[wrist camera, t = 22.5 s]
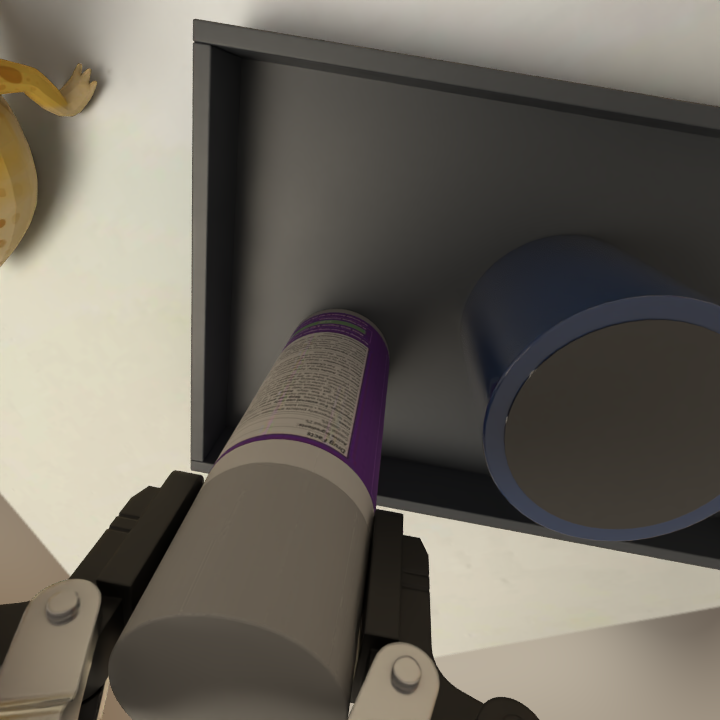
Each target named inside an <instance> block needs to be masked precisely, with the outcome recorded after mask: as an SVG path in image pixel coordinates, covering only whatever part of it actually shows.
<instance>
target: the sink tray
mask: <svg viewBox="0 0 720 720" xmlns="http://www.w3.org/2000/svg"><path fill="white" fill-rule="evenodd" d="M193 41H194V43H193V132H192V315H191V470H192V471H198V472H203V473H208V474H209V472H210V471H211V469H212V467H213V466H214V464H215V462H216V461H217V459H218V457H219V456H220V454H221V452H222V451H223V449H224V447H225V446H226V444H227V442H228V441H229V439H230V437H231V436H232V434H233V432H234V431H235V429H236V427H237V426H238V424H239V422H240V420H241V419H242V417H243V415H244V414H245V412H246V410H247V409H248V407H249V405H250V404H251V402H252V400H253V399H254V397H255V395H256V394H257V392H258V390H259V389H260V387H261V385H262V384H263V382H264V380H265V379H266V377H267V375H268V374H269V372H270V370H271V369H272V367H273V365H274V364H275V362H276V360H277V359H278V357H279V355H280V354H281V352H282V350H283V349H284V347H285V345H286V344H287V342H288V340H289V339H290V337H291V335H292V334H293V332H294V331H295V330H296V328H297V327H298V326H299V324H300V323H301V322H302V321H303V320H305V319H306V318H307V317H309V316H311V315H312V314H315V313H317V312H320V311H323V310H328V309H344V310H349V311H353V312H356V313H358V314H360V315H362V316H364V317H366V318H367V319H369V320H370V321H371V322H372V323H374V324H375V325H376V326H377V328H378V329H379V330H380V331H381V333H382V334H383V336H384V338H385V340H386V342H387V345H388V349H389V356H390V362H389V376H388V386H387V396H386V407H385V417H384V428H383V438H382V449H381V459H380V470H379V480H378V491H377V501H376V505H378V506H383V507H389V508H394V509H399V510H405V511H410V512H415V513H421V514H426V515H431V516H436V517H442V518H447V519H452V520H458V521H463V522H468V523H474V524H479V525H484V526H490V527H495V528H500V529H505V530H511V531H516V532H521V533H527V534H532V535H537V536H543V537H548V538H553V539H559V540H564V541H569V542H574V543H580V544H585V545H590V546H596V547H601V548H606V549H612V550H617V551H622V552H627V553H633V554H638V555H643V556H649V557H654V558H659V559H665V560H670V561H675V562H681V563H686V564H691V565H696V566H702V567H707V568H712V569H718V570H720V511H719V512H717V513H715V514H713V515H712V516H710V517H708V518H706V519H704V520H702V521H700V522H698V523H696V524H693V525H691V526H689V527H686V528H684V529H681V530H678V531H675V532H672V533H669V534H665V535H661V536H656V537H652V538H647V539H640V540H633V541H615V542H614V541H595V540H587V539H580V538H576V537H572V536H568V535H564V534H561V533H558V532H555V531H553V530H550V529H548V528H546V527H544V526H542V525H540V524H538V523H536V522H534V521H532V520H531V519H529V518H528V517H526V516H525V515H523V514H522V513H521V512H520V511H518V510H517V509H516V508H515V507H514V506H513V505H512V504H510V503H509V501H508V500H507V499H506V498H505V497H504V496H503V494H502V493H501V492H500V491H499V489H498V487H497V486H496V484H495V483H494V481H493V479H492V477H491V475H490V472H489V470H488V468H487V465H486V461H485V457H484V453H483V448H482V444H481V439H480V435H479V430H478V425H477V421H476V416H475V411H474V407H473V402H472V398H471V393H470V388H469V384H468V379H467V375H466V370H465V365H464V361H463V356H462V352H461V347H460V322H461V317H462V312H463V309H464V306H465V303H466V301H467V299H468V297H469V295H470V293H471V291H472V289H473V288H474V286H475V285H476V283H477V282H478V280H479V279H480V278H481V277H482V276H483V274H484V273H485V272H486V271H487V270H488V269H489V268H490V267H491V266H492V265H493V264H494V263H495V262H496V261H498V260H499V259H500V258H502V257H503V256H505V255H506V254H507V253H509V252H511V251H513V250H514V249H516V248H518V247H520V246H522V245H524V244H527V243H529V242H532V241H534V240H538V239H542V238H545V237H550V236H557V235H584V236H591V237H595V238H599V239H603V240H605V241H608V242H610V243H612V244H615V245H616V246H618V247H620V248H622V249H624V250H625V251H627V252H629V253H631V254H632V255H634V256H636V257H638V258H640V259H641V260H643V261H645V262H647V263H648V264H650V265H652V266H654V267H656V268H657V269H659V270H661V271H663V272H664V273H666V274H668V275H670V276H672V277H673V278H675V279H677V280H679V281H680V282H682V283H684V284H686V285H688V286H689V287H691V288H693V289H695V290H696V291H698V292H700V293H702V294H704V295H705V296H707V297H709V298H711V299H712V300H714V301H716V302H718V303H720V107H717V106H712V105H706V104H700V103H694V102H688V101H682V100H676V99H670V98H664V97H658V96H652V95H646V94H640V93H634V92H628V91H622V90H616V89H610V88H604V87H598V86H592V85H586V84H580V83H574V82H569V81H563V80H557V79H551V78H545V77H539V76H533V75H527V74H521V73H515V72H509V71H503V70H497V69H491V68H485V67H479V66H473V65H467V64H461V63H455V62H449V61H443V60H437V59H432V58H426V57H420V56H414V55H408V54H402V53H396V52H390V51H384V50H378V49H372V48H366V47H360V46H354V45H348V44H342V43H336V42H330V41H324V40H318V39H312V38H306V37H300V36H295V35H289V34H283V33H277V32H271V31H265V30H259V29H253V28H247V27H241V26H235V25H229V24H223V23H217V22H211V21H205V20H199V19H193Z"/></svg>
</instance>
